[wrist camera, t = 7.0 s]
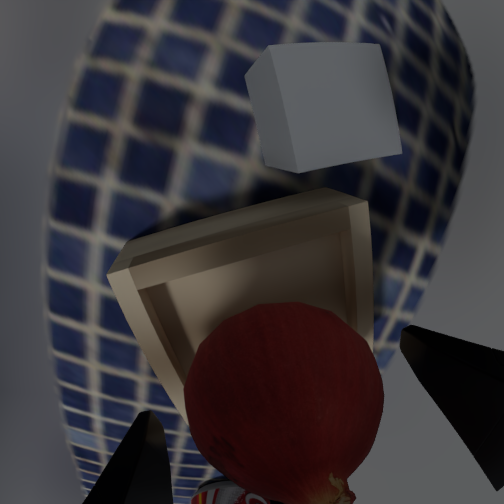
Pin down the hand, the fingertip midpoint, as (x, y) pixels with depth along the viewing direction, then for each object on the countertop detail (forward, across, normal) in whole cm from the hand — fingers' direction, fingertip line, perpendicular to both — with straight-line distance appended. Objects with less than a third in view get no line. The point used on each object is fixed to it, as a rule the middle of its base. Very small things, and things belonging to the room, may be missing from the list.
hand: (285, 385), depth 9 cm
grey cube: (+6, -4, -8) cm, 11 cm away
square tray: (+6, 0, 0) cm, 6 cm away
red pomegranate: (+3, 0, 0) cm, 3 cm away
